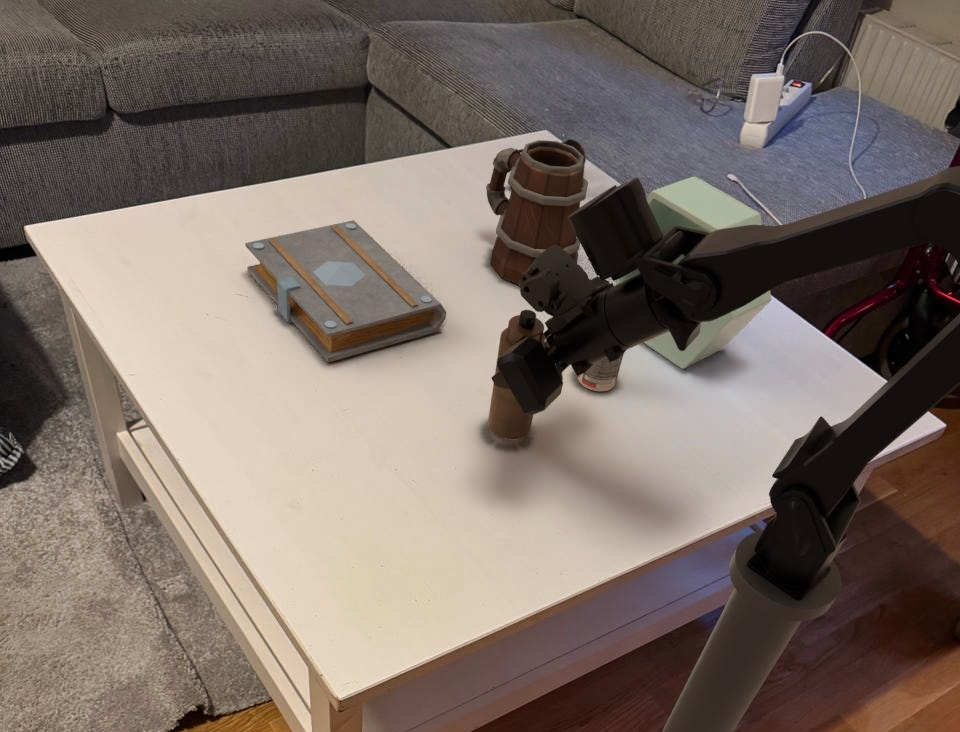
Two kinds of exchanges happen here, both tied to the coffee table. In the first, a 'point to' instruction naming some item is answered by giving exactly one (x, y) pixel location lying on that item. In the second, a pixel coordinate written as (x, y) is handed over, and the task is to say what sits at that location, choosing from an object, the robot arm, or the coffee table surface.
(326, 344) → the book
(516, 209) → the mug
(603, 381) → the pill bottle
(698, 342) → the planter
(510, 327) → the pepper mill
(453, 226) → the coffee table surface
